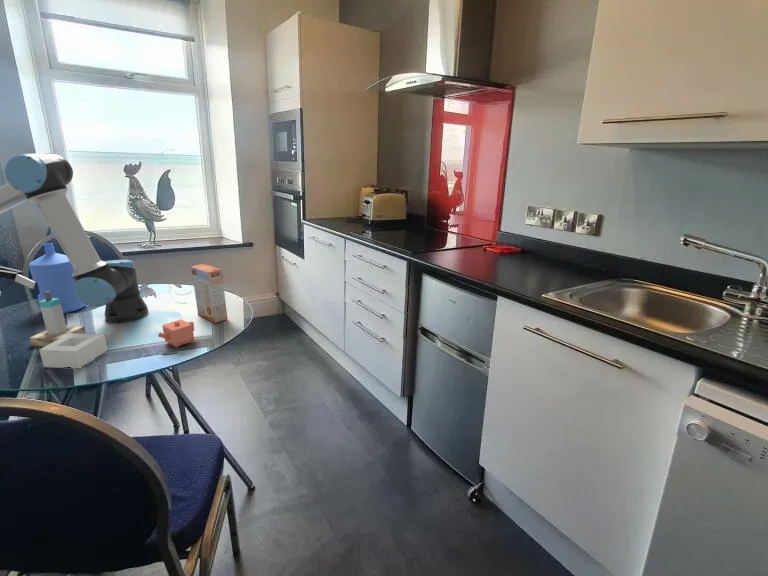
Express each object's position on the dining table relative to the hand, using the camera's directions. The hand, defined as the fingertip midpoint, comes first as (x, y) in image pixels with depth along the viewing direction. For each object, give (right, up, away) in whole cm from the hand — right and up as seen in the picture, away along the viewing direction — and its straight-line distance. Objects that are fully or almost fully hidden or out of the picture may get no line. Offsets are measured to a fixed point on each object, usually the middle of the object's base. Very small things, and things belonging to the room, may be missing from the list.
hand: (17, 290), depth 145 cm
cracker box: (+58, -11, +24) cm, 64 cm away
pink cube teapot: (+55, -19, +1) cm, 59 cm away
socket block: (+28, -22, -10) cm, 37 cm away
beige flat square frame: (+12, -18, +4) cm, 21 cm away
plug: (+12, -18, +4) cm, 21 cm away
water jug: (-9, -8, +33) cm, 35 cm away
